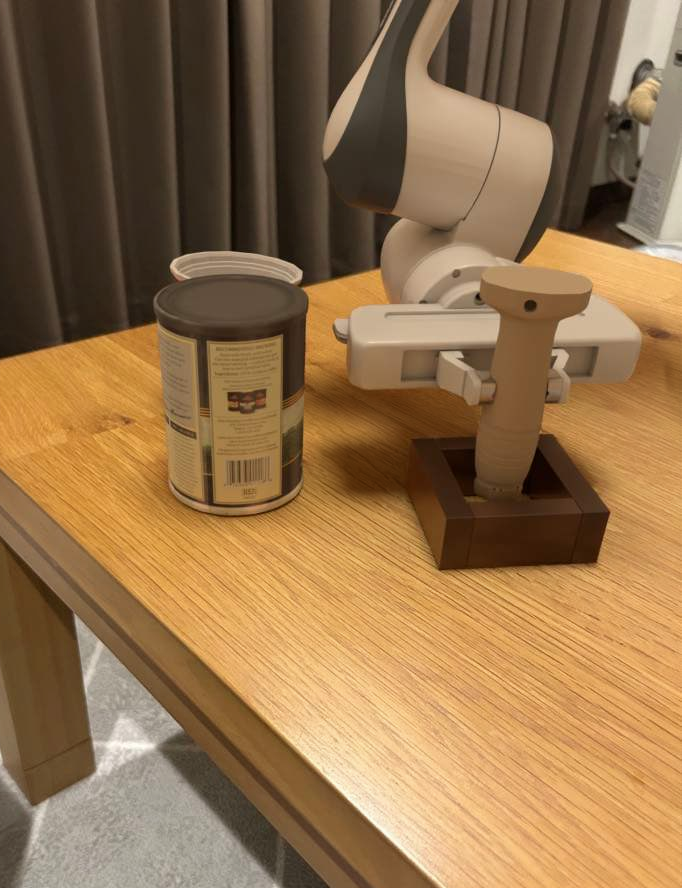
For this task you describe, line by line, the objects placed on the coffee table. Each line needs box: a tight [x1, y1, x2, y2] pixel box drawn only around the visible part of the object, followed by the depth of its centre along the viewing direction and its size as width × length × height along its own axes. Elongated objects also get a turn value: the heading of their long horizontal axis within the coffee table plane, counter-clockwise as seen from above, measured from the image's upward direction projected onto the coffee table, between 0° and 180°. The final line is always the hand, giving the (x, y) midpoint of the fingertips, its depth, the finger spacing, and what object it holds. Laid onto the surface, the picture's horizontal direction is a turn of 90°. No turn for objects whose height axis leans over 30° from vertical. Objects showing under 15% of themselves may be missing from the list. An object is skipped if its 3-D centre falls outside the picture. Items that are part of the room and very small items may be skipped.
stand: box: [405, 433, 611, 570], centre depth 60 cm, size 11×11×4 cm
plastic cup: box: [169, 250, 303, 286], centre depth 73 cm, size 11×11×12 cm
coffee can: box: [153, 274, 310, 517], centre depth 61 cm, size 10×10×14 cm
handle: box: [474, 265, 594, 502], centre depth 56 cm, size 5×6×15 cm
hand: (521, 394), depth 55 cm, fingers closed on handle, 3 cm apart
